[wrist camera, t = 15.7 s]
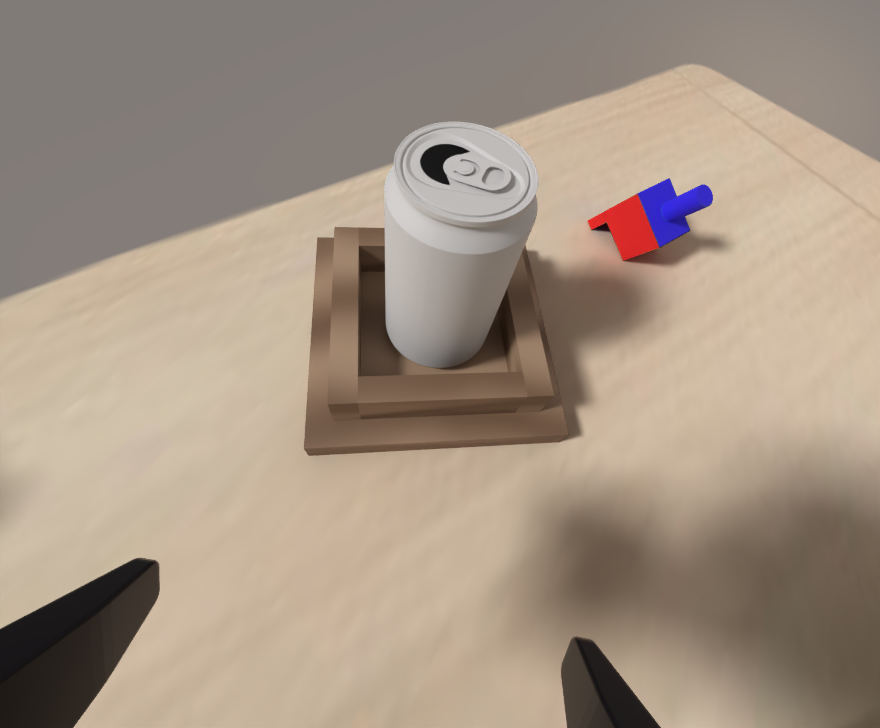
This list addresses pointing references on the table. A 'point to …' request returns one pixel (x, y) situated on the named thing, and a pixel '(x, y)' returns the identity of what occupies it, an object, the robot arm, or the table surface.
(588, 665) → the robot arm
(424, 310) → the beverage can
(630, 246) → the toy building block
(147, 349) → the table surface
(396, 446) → the socket block
